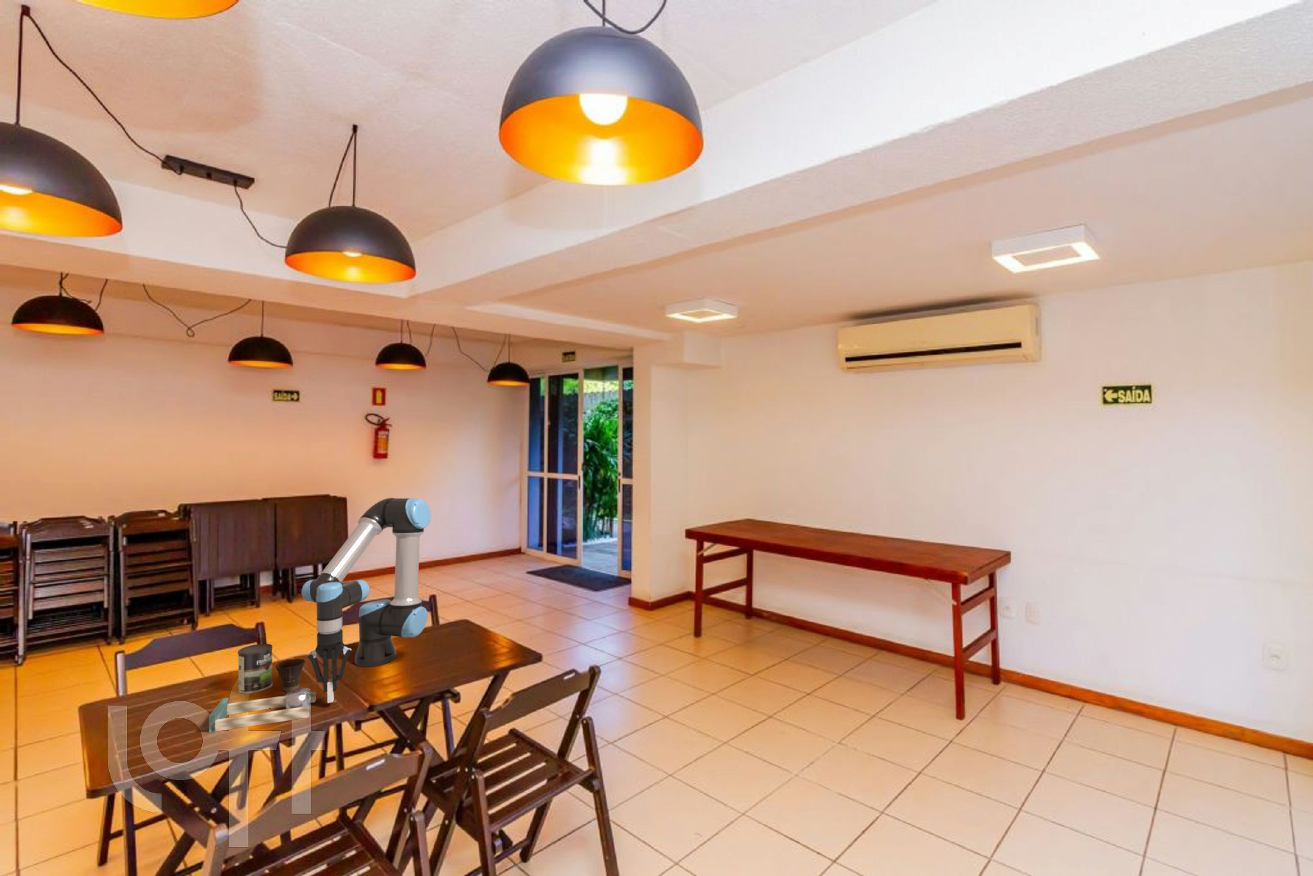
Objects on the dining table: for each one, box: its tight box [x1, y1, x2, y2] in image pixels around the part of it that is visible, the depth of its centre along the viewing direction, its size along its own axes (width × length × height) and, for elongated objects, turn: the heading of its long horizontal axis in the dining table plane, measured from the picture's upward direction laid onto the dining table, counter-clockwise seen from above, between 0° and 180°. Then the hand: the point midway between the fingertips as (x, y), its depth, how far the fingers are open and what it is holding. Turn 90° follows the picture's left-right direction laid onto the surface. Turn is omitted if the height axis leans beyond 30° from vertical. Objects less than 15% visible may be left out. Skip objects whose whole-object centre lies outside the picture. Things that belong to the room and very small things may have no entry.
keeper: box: [285, 687, 312, 711], centre depth 196 cm, size 7×7×6 cm
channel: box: [208, 691, 317, 733], centre depth 193 cm, size 26×13×5 cm, turn 111°
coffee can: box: [237, 643, 274, 695], centre depth 214 cm, size 10×10×14 cm
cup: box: [274, 658, 306, 693], centre depth 212 cm, size 9×9×10 cm
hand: (330, 700), depth 199 cm, fingers closed
